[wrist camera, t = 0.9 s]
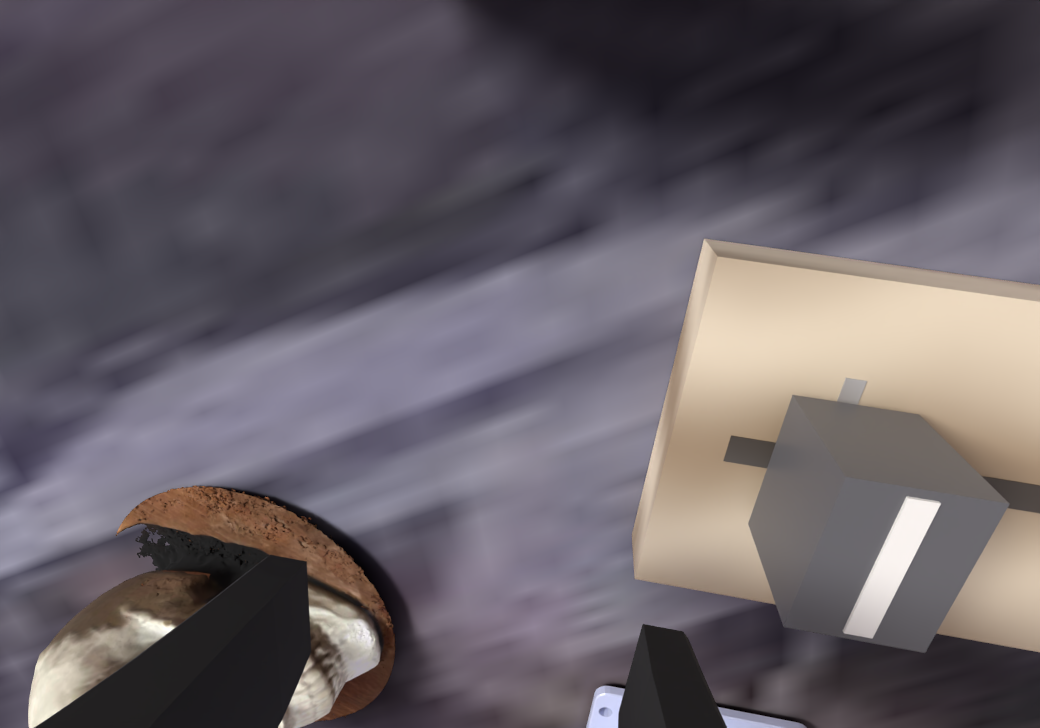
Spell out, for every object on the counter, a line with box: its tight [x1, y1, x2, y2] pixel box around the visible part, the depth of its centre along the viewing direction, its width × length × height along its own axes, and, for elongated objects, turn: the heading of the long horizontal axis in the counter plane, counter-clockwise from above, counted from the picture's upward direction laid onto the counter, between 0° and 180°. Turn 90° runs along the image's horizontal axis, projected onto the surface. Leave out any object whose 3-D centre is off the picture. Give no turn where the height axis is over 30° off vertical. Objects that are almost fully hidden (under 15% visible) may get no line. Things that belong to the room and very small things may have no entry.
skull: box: [28, 486, 395, 728], centre depth 22 cm, size 12×10×10 cm
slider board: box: [632, 239, 1040, 652], centre depth 16 cm, size 10×20×2 cm, turn 84°
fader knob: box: [748, 395, 1009, 653], centre depth 14 cm, size 4×3×4 cm
